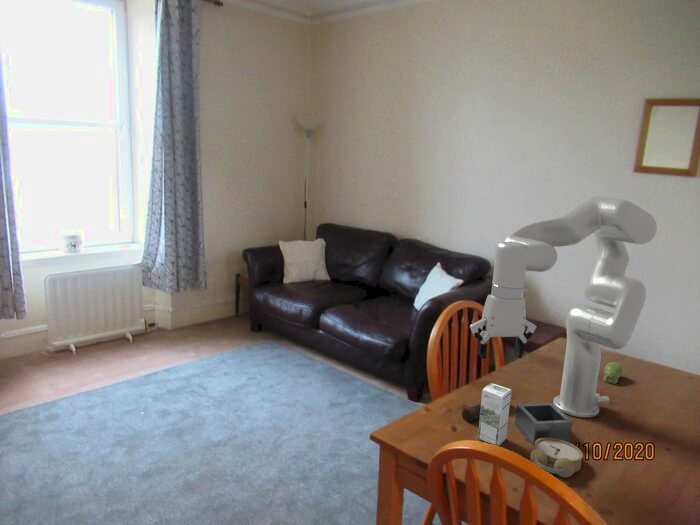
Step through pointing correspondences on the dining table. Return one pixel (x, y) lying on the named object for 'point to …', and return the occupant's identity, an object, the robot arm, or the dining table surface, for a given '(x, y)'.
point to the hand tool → (471, 413)
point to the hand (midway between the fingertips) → (500, 356)
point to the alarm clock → (557, 456)
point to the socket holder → (543, 422)
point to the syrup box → (494, 414)
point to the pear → (613, 372)
